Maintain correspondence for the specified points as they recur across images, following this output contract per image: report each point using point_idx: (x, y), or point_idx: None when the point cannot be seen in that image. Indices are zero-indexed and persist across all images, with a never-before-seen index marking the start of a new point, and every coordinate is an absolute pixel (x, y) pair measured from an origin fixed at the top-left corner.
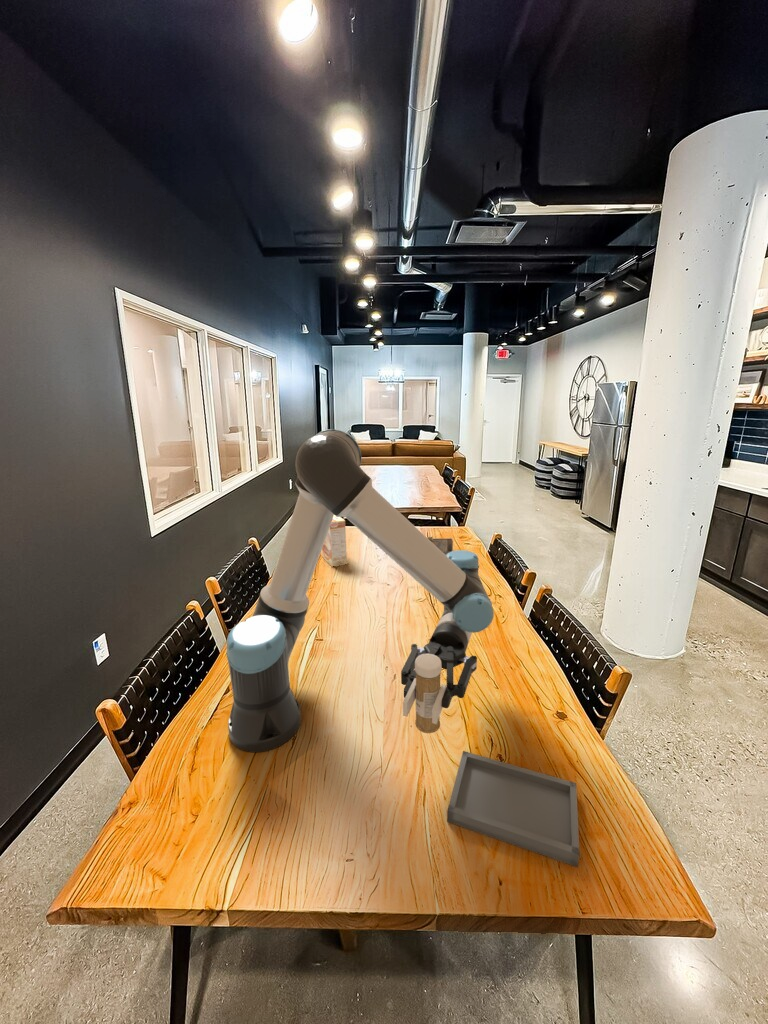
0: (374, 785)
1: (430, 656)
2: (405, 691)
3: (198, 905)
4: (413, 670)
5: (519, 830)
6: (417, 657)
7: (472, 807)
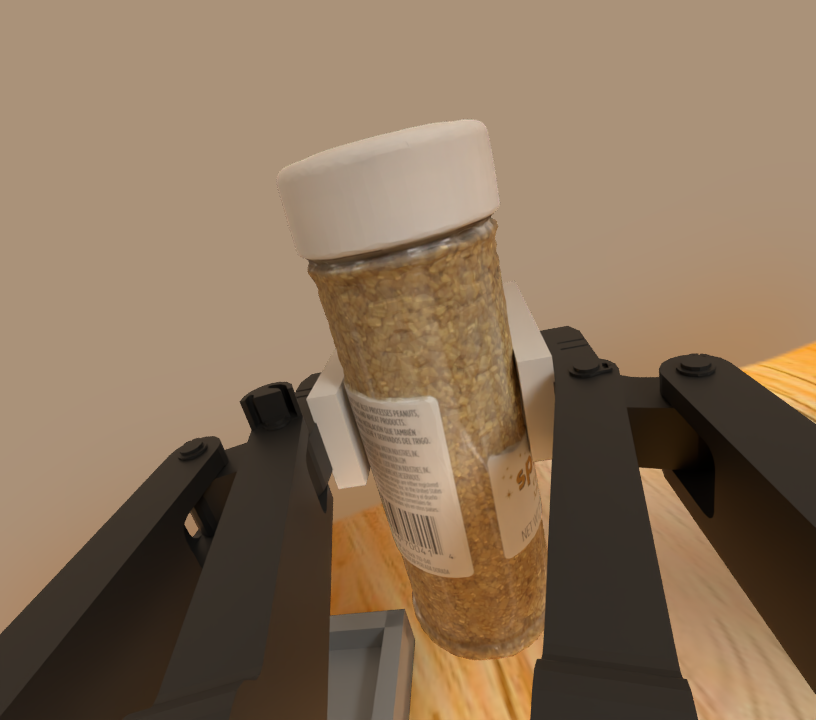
0: (697, 659)
1: (364, 141)
2: (557, 328)
3: (748, 367)
4: (794, 659)
5: None
6: (472, 119)
7: (337, 692)
